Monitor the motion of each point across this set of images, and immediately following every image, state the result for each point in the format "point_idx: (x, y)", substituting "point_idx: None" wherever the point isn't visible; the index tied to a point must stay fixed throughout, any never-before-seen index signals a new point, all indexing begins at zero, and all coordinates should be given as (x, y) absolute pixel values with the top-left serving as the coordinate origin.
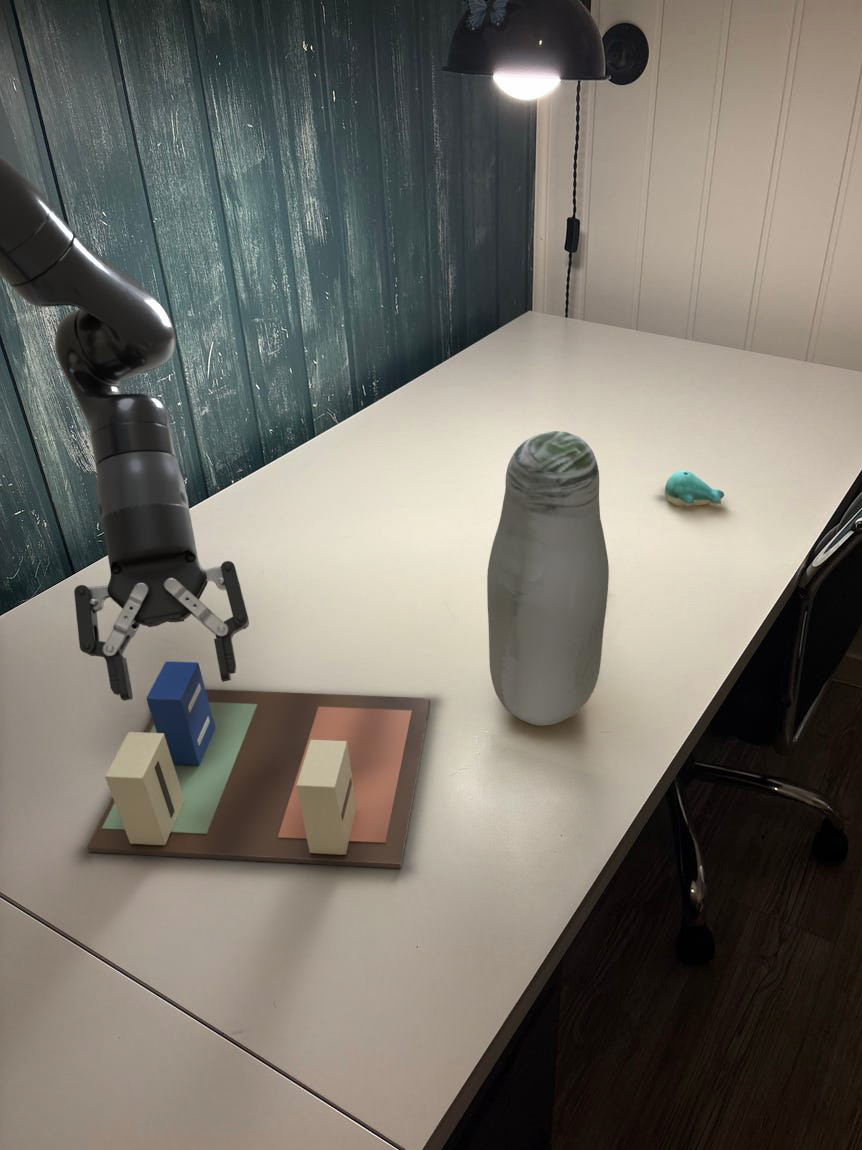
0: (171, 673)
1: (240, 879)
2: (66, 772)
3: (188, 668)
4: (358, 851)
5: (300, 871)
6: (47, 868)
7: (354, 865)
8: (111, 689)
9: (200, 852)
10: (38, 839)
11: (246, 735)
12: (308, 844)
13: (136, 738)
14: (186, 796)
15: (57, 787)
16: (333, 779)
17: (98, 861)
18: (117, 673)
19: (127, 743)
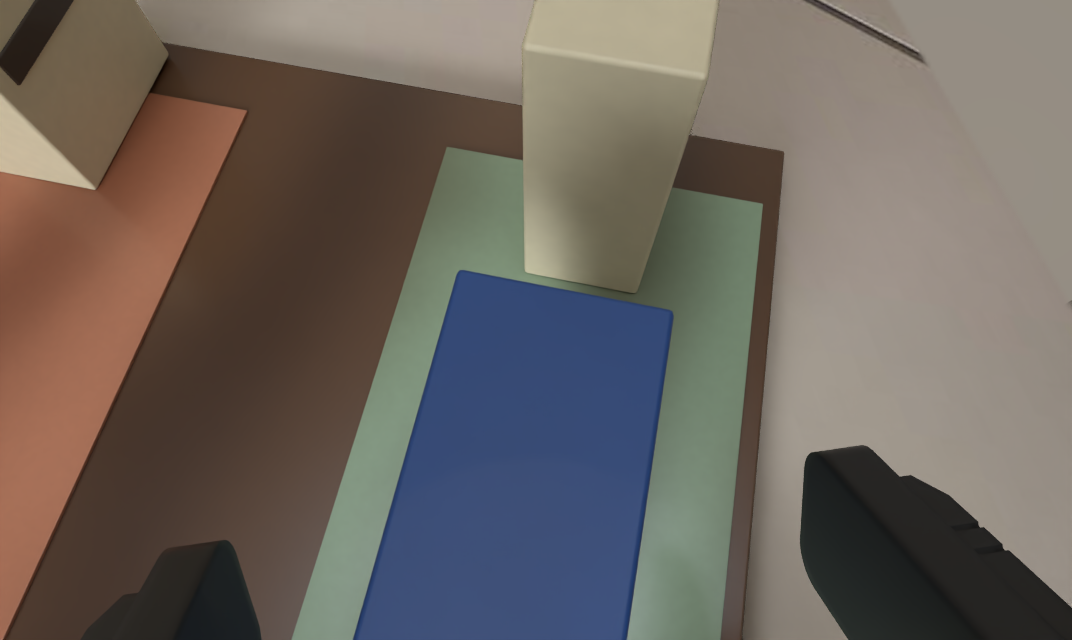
0: (545, 547)
1: (364, 43)
2: (986, 499)
3: (422, 591)
4: None
5: (214, 44)
6: (872, 131)
7: None
8: (941, 491)
9: (461, 96)
10: (943, 224)
11: (308, 576)
12: (150, 25)
13: (654, 33)
14: None
15: (985, 427)
16: None
17: (741, 134)
18: (951, 539)
19: (690, 6)
